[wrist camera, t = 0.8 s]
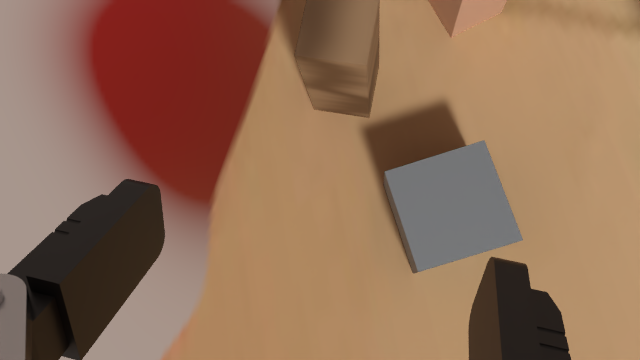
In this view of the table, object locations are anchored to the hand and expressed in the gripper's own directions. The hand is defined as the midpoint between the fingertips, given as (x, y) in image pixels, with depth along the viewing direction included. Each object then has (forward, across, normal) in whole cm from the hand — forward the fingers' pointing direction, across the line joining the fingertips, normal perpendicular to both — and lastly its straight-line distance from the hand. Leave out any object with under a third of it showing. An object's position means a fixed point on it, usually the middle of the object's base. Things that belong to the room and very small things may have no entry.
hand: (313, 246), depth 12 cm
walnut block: (+29, +4, +8) cm, 31 cm away
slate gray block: (+23, -6, +15) cm, 28 cm away
